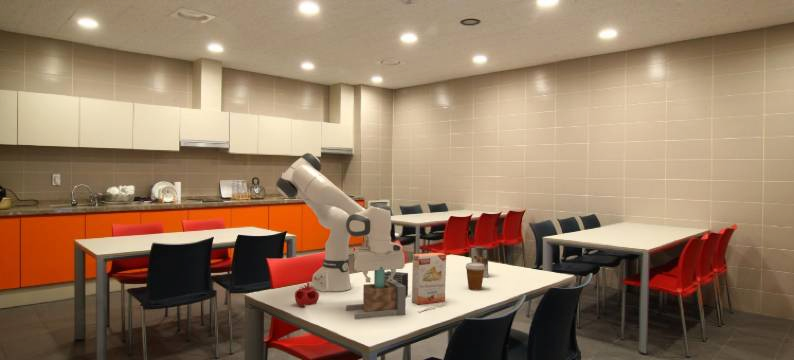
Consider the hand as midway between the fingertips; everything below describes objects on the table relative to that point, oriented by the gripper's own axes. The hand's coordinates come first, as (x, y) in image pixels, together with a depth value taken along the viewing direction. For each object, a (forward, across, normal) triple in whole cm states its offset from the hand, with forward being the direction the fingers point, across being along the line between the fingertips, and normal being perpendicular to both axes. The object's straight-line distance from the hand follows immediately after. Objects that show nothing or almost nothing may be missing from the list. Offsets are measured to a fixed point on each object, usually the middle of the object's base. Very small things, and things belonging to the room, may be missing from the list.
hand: (379, 281), depth 192 cm
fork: (+14, +20, -1) cm, 24 cm away
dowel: (+7, 0, 0) cm, 7 cm away
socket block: (+12, 0, 0) cm, 12 cm away
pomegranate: (+13, -24, +23) cm, 36 cm away
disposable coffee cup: (+13, +59, +26) cm, 66 cm away
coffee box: (+13, +76, +51) cm, 93 cm away
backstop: (+13, -5, 0) cm, 14 cm away
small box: (+13, +17, +26) cm, 34 cm away
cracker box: (+13, +27, +11) cm, 32 cm away
